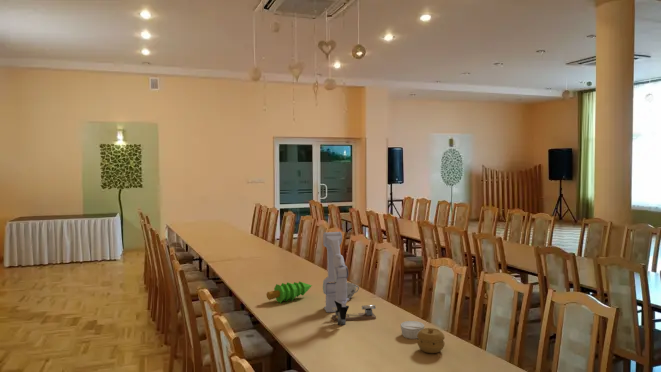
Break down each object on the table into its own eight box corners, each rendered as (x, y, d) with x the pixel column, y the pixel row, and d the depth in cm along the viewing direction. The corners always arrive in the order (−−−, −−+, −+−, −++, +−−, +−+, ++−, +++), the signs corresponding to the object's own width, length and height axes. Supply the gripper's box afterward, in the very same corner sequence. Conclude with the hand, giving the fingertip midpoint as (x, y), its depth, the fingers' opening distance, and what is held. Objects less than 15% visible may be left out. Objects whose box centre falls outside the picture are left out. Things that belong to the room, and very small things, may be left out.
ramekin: (406, 341, 222) (406, 330, 222) (396, 333, 233) (396, 322, 233) (428, 338, 225) (428, 327, 225) (417, 330, 236) (417, 319, 236)
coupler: (335, 323, 248) (335, 311, 247) (346, 322, 249) (346, 310, 248) (336, 325, 244) (336, 314, 243) (348, 324, 245) (348, 313, 244)
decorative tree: (265, 282, 283) (309, 273, 300) (263, 298, 287) (306, 288, 304) (274, 293, 275) (318, 283, 291) (271, 310, 279) (315, 298, 296)
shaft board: (332, 317, 257) (332, 314, 257) (372, 314, 261) (372, 311, 260) (334, 321, 250) (334, 318, 250) (375, 318, 254) (375, 316, 254)
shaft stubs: (331, 315, 255) (331, 306, 255) (374, 313, 259) (374, 303, 259) (332, 318, 252) (332, 308, 251) (376, 315, 255) (376, 306, 255)
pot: (440, 345, 217) (440, 323, 216) (447, 356, 205) (448, 332, 204) (414, 346, 216) (414, 324, 216) (420, 356, 205) (420, 333, 204)
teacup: (340, 302, 284) (340, 288, 283) (332, 296, 295) (332, 283, 295) (363, 298, 290) (363, 285, 289) (354, 293, 301) (354, 280, 301)
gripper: (351, 293, 239) (352, 321, 239) (346, 286, 253) (346, 312, 254) (337, 294, 238) (338, 322, 238) (333, 287, 252) (333, 312, 253)
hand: (341, 317), depth 246 cm, fingers open, 7 cm apart
